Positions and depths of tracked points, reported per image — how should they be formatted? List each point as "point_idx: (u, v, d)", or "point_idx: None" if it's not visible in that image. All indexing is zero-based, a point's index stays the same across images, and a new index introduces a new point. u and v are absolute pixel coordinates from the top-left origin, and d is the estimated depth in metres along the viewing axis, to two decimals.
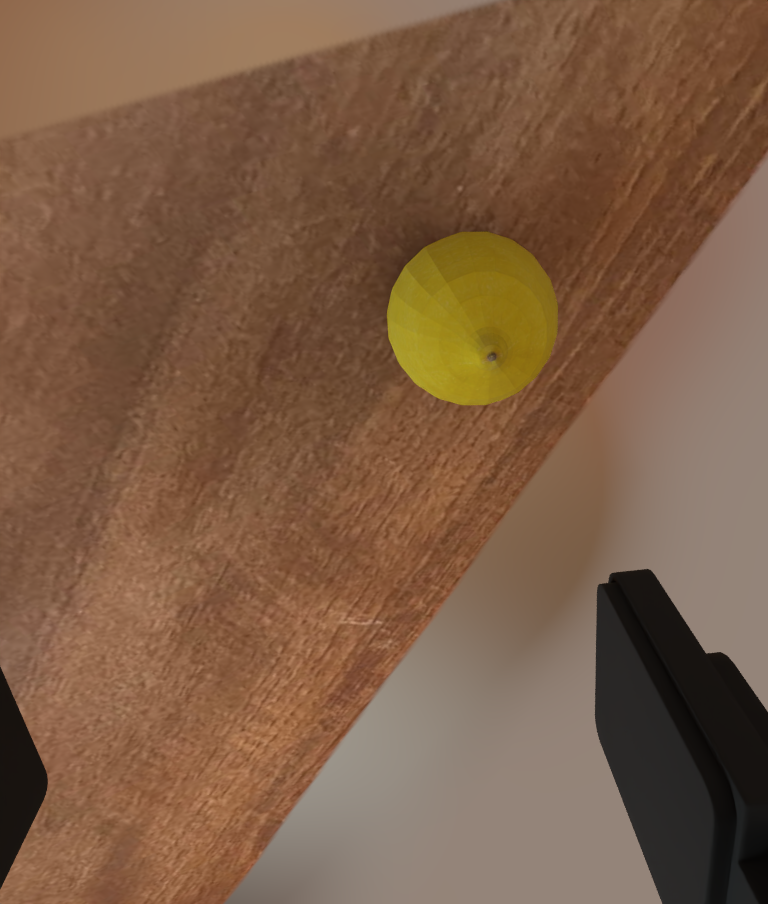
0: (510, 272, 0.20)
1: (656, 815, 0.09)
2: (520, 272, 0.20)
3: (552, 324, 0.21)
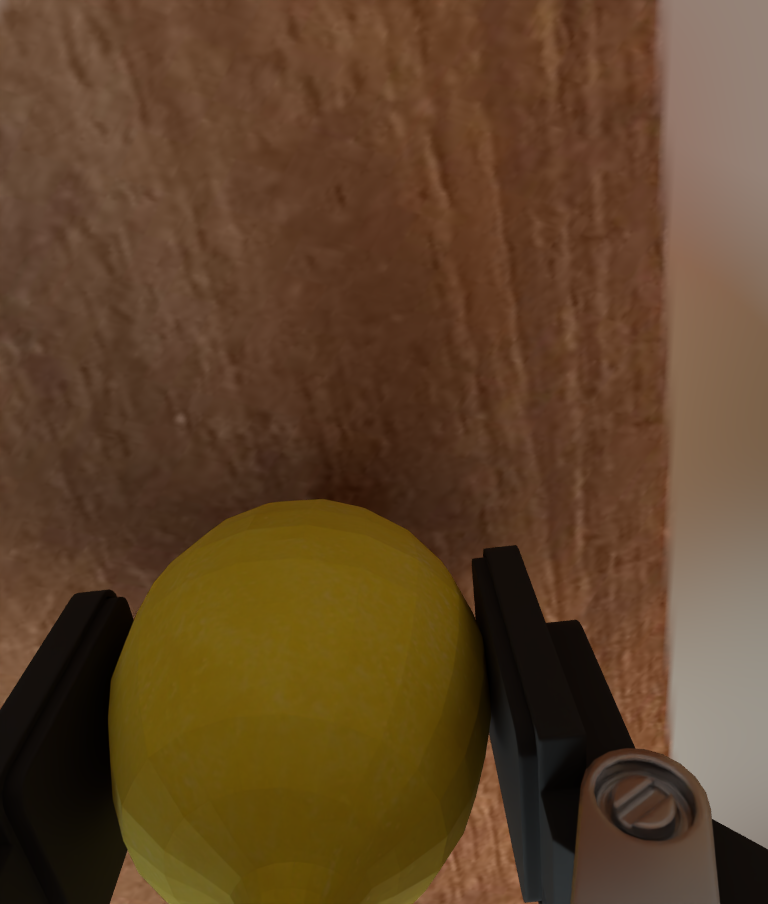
0: (220, 704, 0.08)
1: (503, 763, 0.09)
2: (244, 677, 0.08)
3: (409, 705, 0.08)
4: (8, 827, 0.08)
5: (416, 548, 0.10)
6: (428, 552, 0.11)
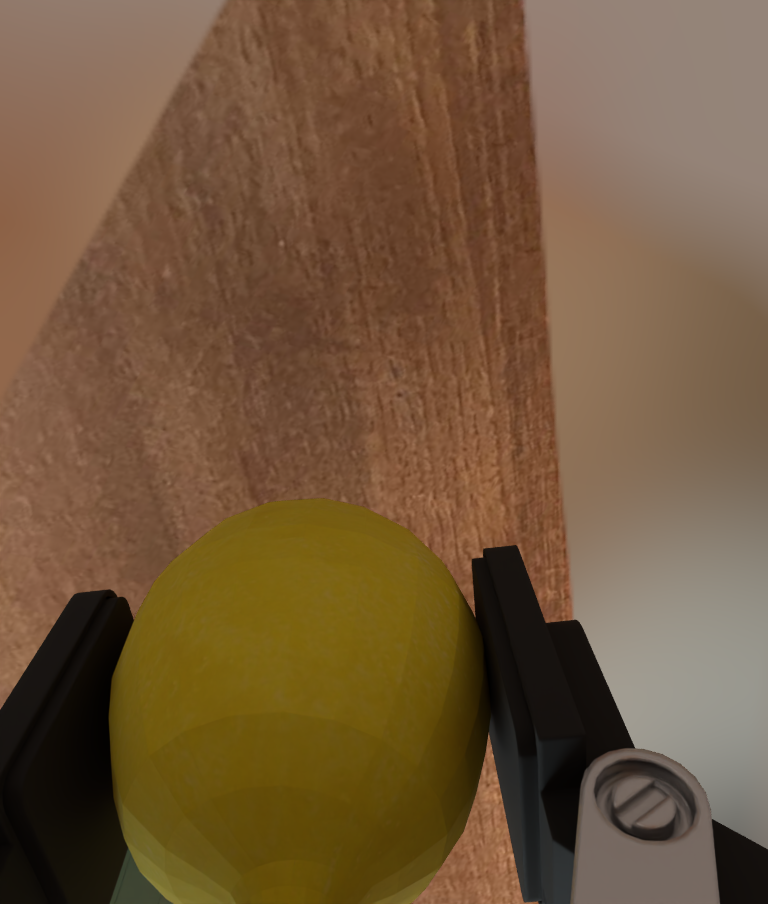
0: (221, 703, 0.08)
1: (503, 763, 0.09)
2: (245, 675, 0.08)
3: (409, 703, 0.08)
4: (8, 827, 0.08)
5: (416, 547, 0.10)
6: (428, 551, 0.11)
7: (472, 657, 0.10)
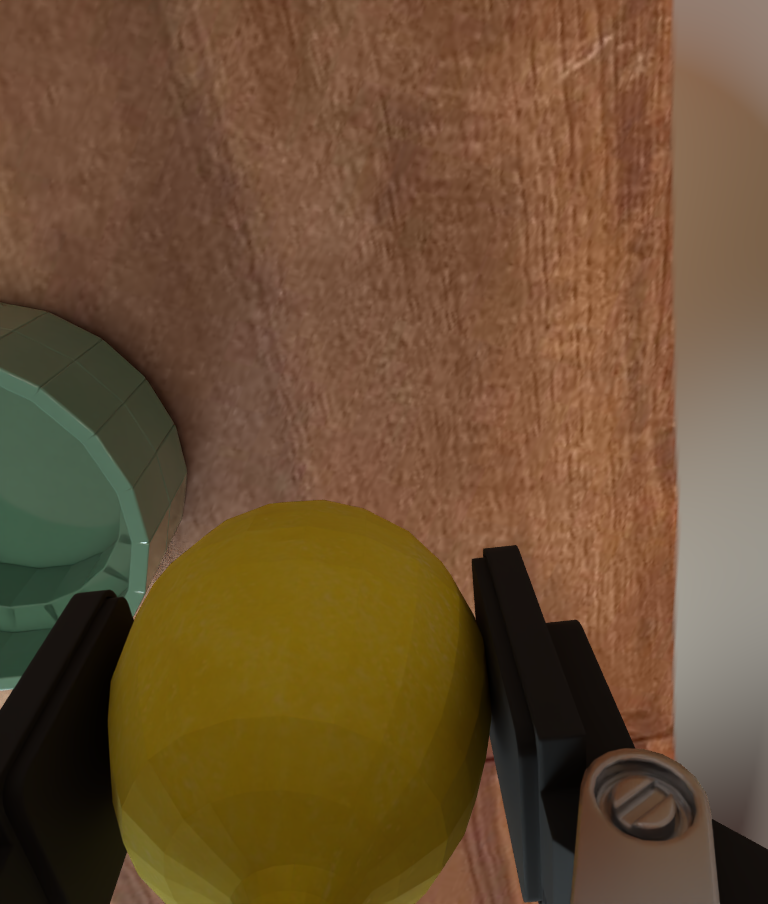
0: (220, 706, 0.08)
1: (503, 763, 0.09)
2: (244, 679, 0.08)
3: (410, 707, 0.08)
4: (8, 827, 0.08)
5: (416, 549, 0.10)
6: (428, 553, 0.11)
7: (472, 660, 0.10)
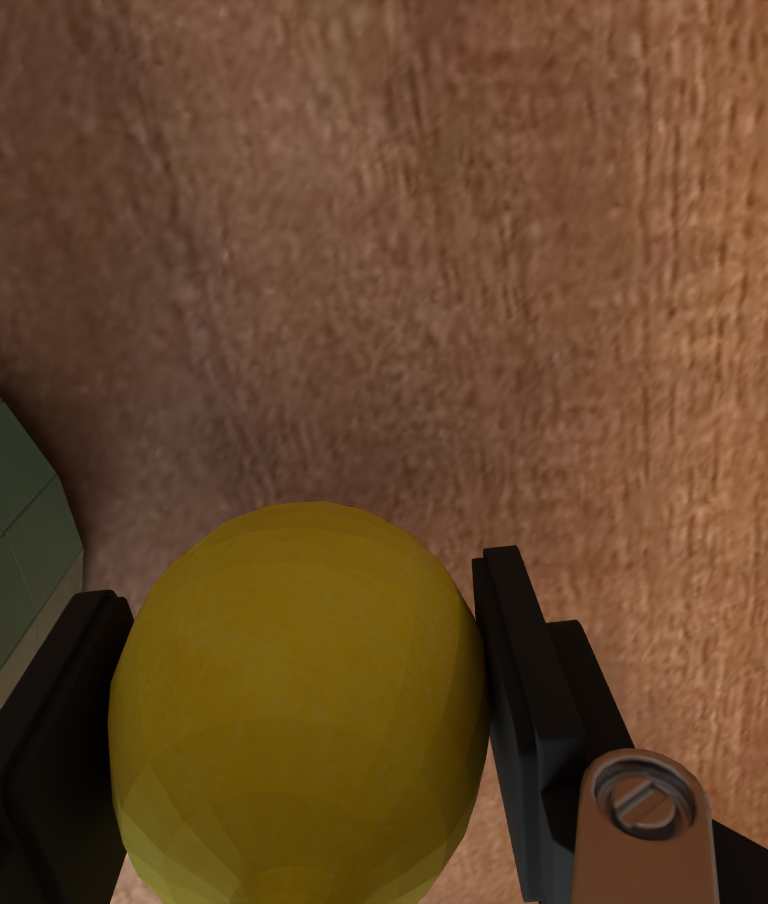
0: (220, 707, 0.08)
1: (503, 763, 0.09)
2: (245, 680, 0.08)
3: (410, 708, 0.08)
4: (8, 827, 0.08)
5: (416, 550, 0.10)
6: (428, 554, 0.11)
7: (473, 661, 0.10)
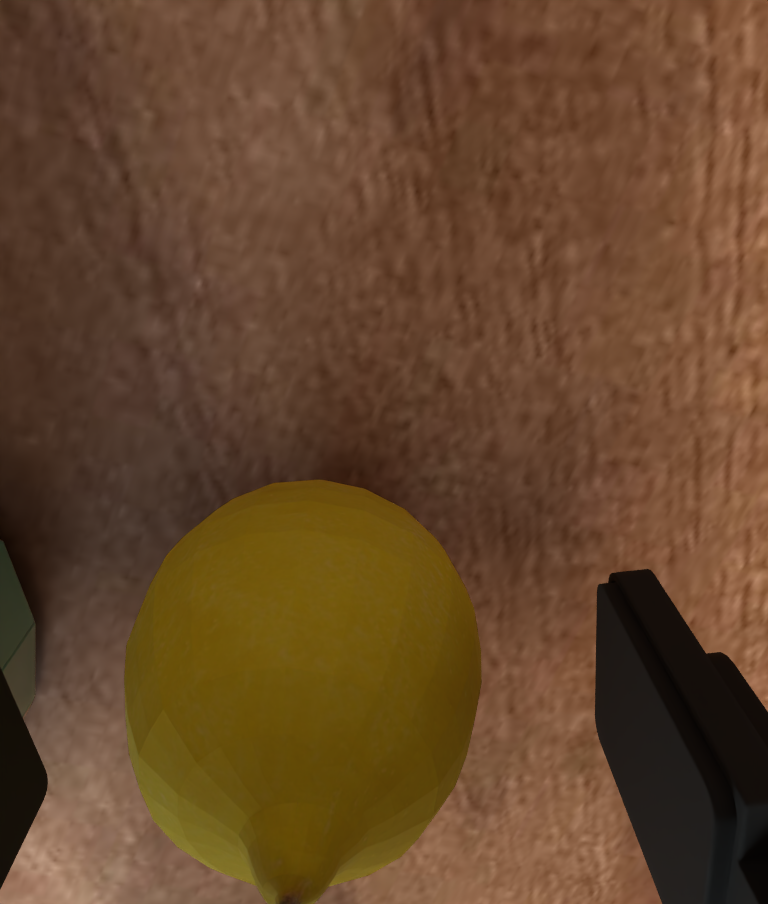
0: (230, 659, 0.08)
1: (656, 815, 0.09)
2: (252, 635, 0.09)
3: (404, 663, 0.09)
4: None
5: (412, 524, 0.11)
6: (423, 529, 0.11)
7: (463, 626, 0.10)
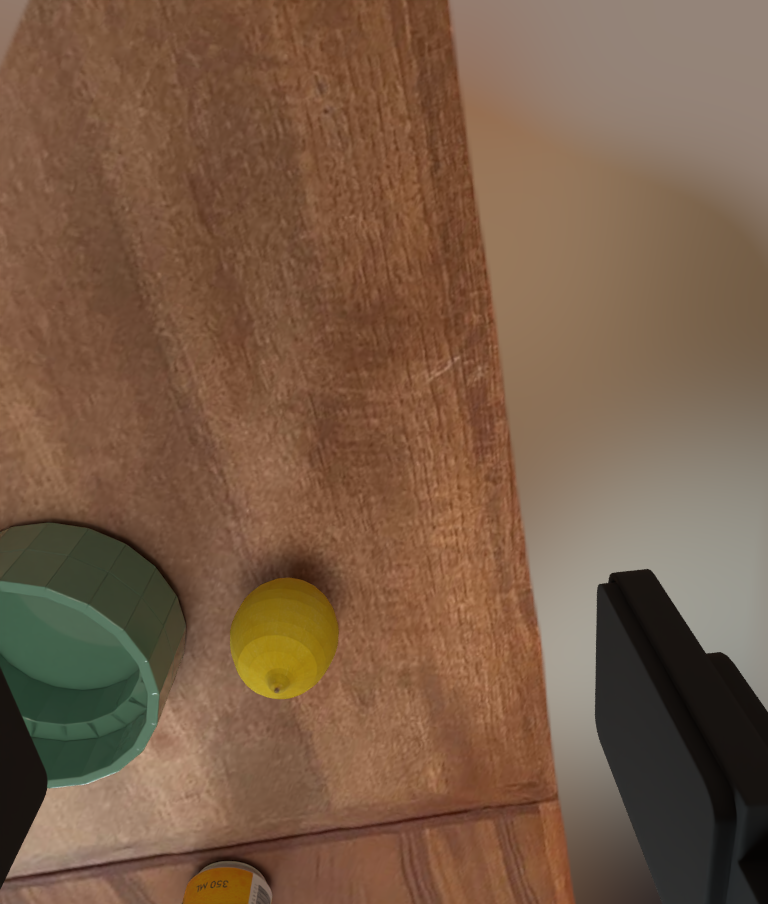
0: (261, 633, 0.33)
1: (656, 815, 0.09)
2: (267, 627, 0.34)
3: (307, 634, 0.34)
4: None
5: (315, 594, 0.36)
6: (320, 594, 0.36)
7: (328, 624, 0.35)
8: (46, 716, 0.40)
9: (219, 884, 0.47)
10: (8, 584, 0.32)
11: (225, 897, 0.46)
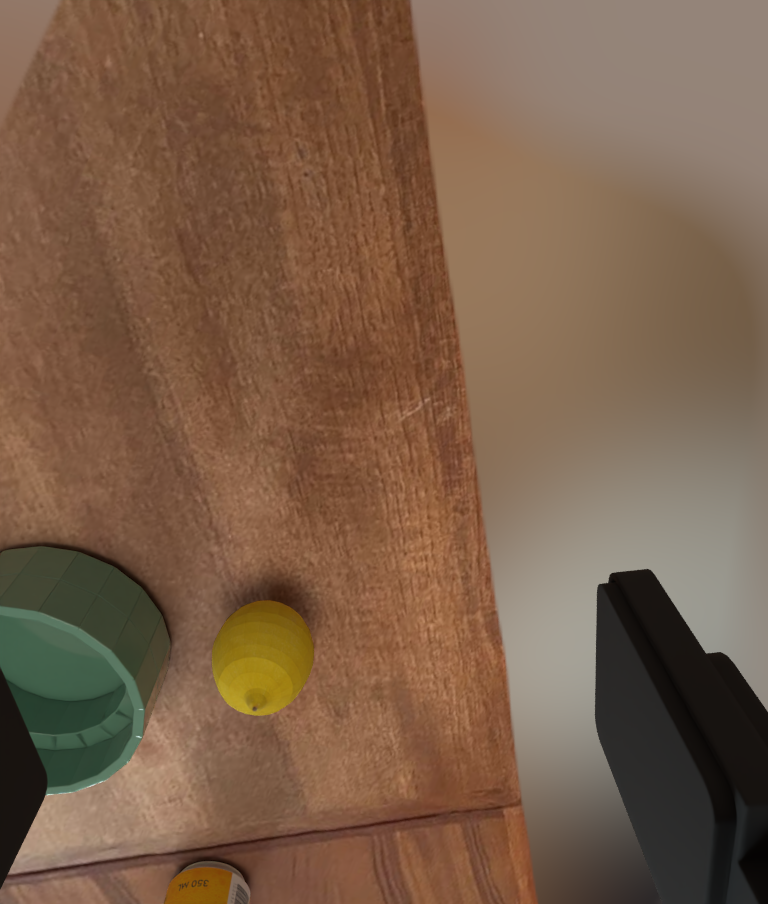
0: (241, 655, 0.36)
1: (656, 815, 0.09)
2: (246, 649, 0.36)
3: (283, 656, 0.36)
4: None
5: (292, 617, 0.38)
6: (297, 617, 0.39)
7: (304, 646, 0.38)
8: (37, 727, 0.42)
9: (199, 883, 0.49)
10: (3, 608, 0.35)
11: (205, 896, 0.49)
